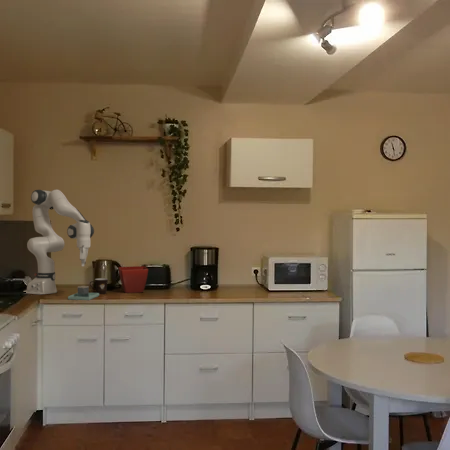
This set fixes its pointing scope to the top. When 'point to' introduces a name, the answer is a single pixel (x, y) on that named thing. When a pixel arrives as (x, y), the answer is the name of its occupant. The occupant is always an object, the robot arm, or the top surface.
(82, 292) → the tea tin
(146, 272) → the plant pot
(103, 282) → the coffee mug
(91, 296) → the tray
